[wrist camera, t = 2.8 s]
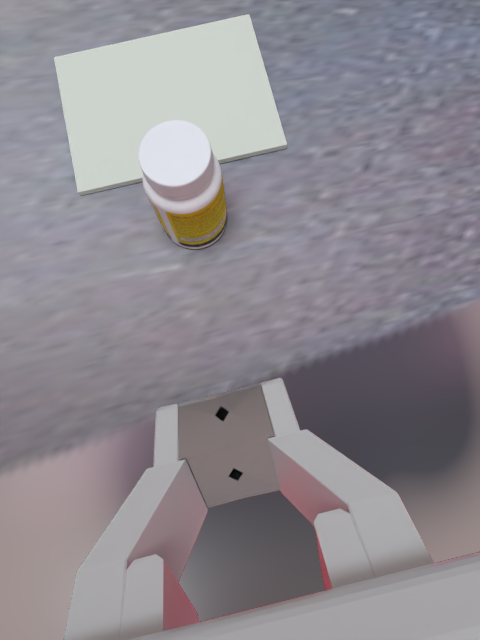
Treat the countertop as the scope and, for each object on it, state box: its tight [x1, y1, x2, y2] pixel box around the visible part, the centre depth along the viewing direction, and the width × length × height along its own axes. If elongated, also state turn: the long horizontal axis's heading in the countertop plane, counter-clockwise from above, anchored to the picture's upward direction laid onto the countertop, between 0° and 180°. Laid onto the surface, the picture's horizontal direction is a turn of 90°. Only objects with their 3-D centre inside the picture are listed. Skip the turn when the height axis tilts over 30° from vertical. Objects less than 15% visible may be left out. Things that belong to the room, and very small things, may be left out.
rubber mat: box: [54, 14, 287, 196], centre depth 31 cm, size 16×12×1 cm
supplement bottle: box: [138, 120, 227, 249], centre depth 25 cm, size 5×5×8 cm
